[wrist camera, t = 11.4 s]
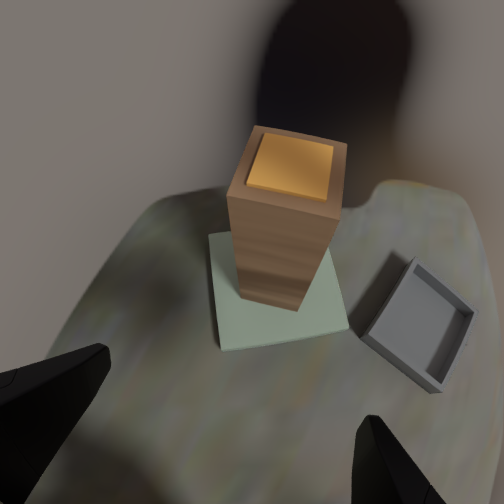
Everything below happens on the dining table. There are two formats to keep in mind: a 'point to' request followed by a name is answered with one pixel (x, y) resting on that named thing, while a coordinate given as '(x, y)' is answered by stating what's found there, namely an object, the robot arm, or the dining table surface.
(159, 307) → the dining table surface
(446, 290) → the grey square tray
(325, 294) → the sage pad
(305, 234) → the walnut box
